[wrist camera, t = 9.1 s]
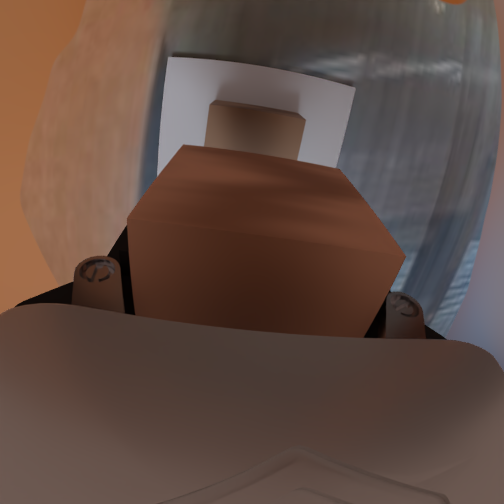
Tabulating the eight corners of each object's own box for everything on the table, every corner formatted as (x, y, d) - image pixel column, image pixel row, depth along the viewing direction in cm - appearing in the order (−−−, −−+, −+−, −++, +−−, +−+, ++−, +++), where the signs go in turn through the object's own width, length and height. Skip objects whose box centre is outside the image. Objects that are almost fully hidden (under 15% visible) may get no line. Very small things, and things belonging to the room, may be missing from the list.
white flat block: (352, 87, 23) (372, 91, 19) (316, 222, 31) (327, 249, 27) (171, 57, 22) (154, 54, 18) (158, 200, 29) (144, 224, 25)
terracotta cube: (339, 169, 11) (406, 256, 6) (302, 288, 15) (324, 398, 10) (183, 144, 11) (126, 217, 6) (175, 273, 14) (146, 383, 9)
